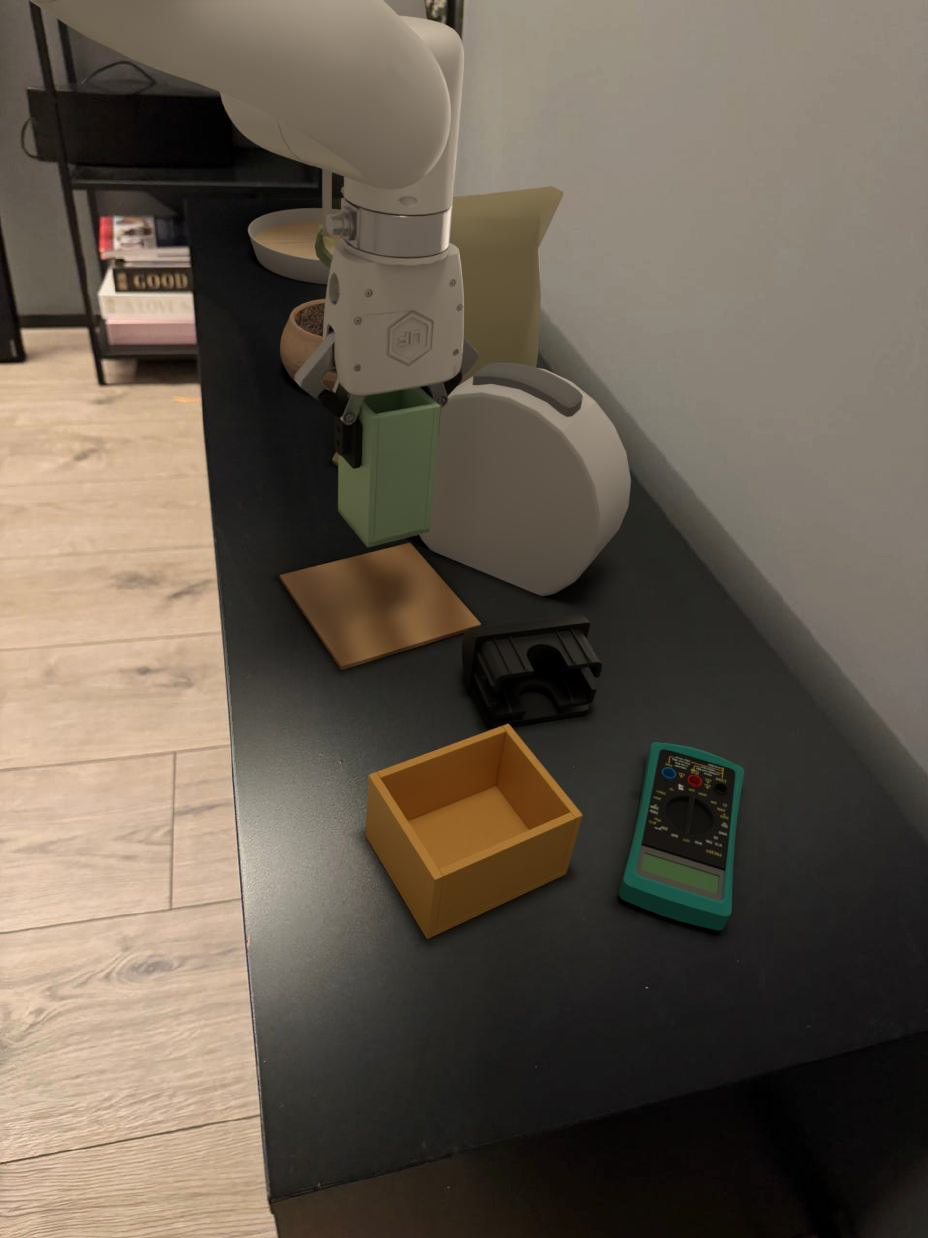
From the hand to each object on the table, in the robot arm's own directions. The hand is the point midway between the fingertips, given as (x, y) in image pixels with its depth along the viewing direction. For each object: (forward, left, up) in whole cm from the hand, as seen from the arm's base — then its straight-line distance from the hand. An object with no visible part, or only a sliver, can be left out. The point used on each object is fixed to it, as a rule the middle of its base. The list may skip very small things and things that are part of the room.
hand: (386, 450), depth 76 cm
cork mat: (0, 0, -16) cm, 16 cm away
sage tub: (0, 0, -7) cm, 7 cm away
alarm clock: (+15, +2, -16) cm, 22 cm away
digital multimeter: (+8, -34, -16) cm, 39 cm away
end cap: (+6, -16, -16) cm, 24 cm away
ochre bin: (-7, -28, -16) cm, 33 cm away
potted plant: (+20, +44, -16) cm, 51 cm away
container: (+18, +22, -16) cm, 33 cm away
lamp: (+34, +87, -16) cm, 95 cm away
